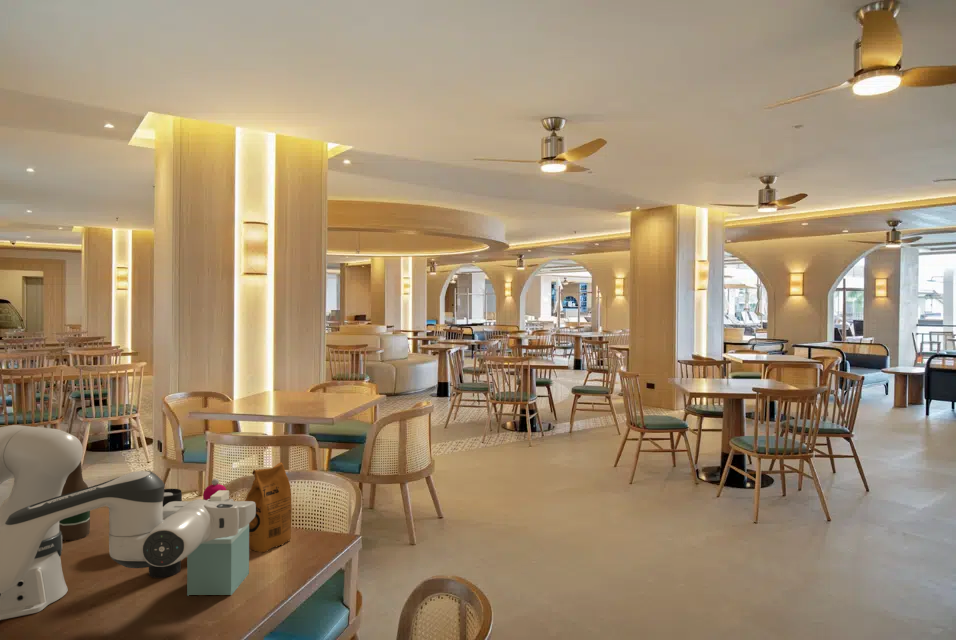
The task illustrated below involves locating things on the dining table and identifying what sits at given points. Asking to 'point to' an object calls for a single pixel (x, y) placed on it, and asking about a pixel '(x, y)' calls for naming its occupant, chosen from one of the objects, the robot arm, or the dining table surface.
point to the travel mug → (173, 569)
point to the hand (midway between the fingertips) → (221, 502)
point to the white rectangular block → (220, 495)
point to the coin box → (219, 565)
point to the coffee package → (270, 509)
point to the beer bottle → (78, 523)
